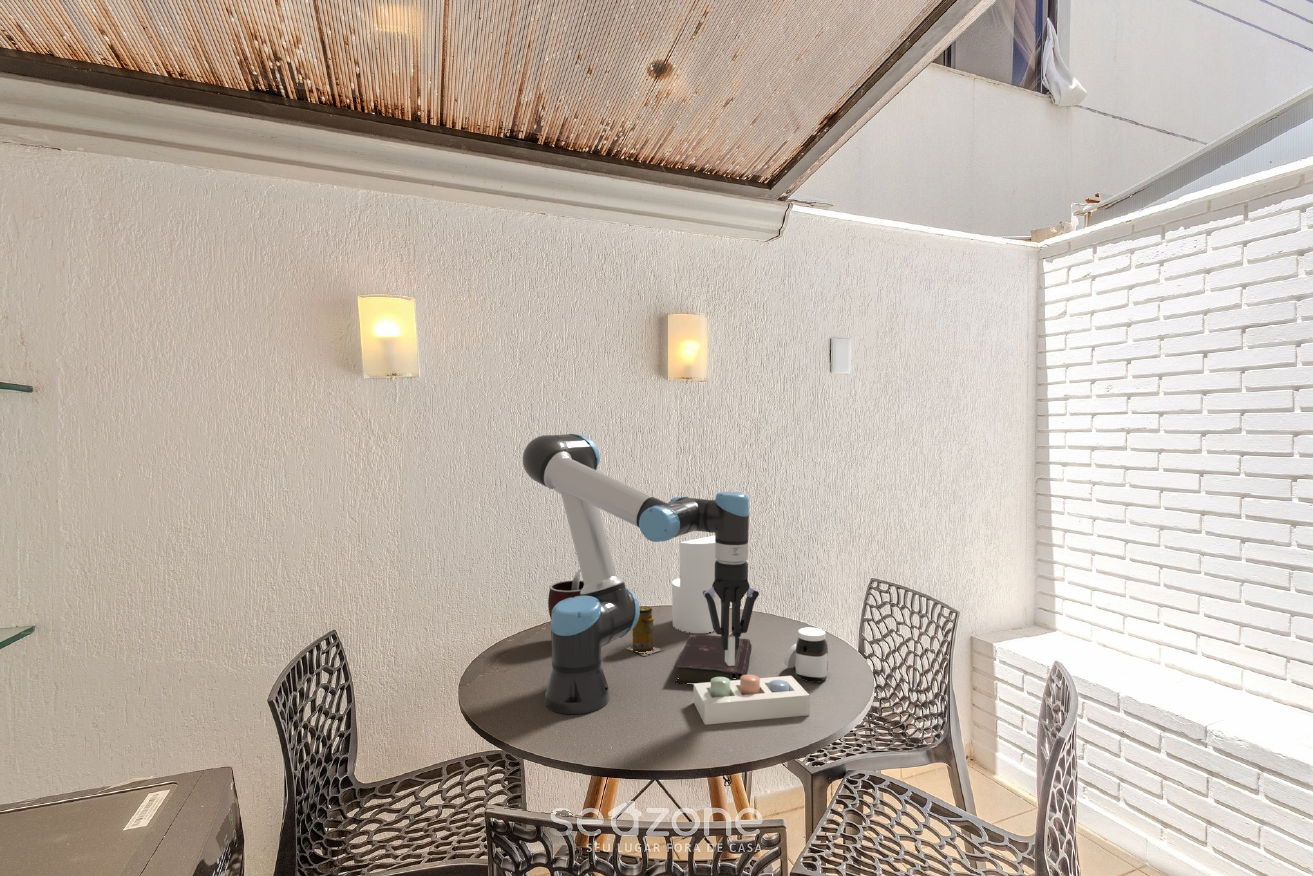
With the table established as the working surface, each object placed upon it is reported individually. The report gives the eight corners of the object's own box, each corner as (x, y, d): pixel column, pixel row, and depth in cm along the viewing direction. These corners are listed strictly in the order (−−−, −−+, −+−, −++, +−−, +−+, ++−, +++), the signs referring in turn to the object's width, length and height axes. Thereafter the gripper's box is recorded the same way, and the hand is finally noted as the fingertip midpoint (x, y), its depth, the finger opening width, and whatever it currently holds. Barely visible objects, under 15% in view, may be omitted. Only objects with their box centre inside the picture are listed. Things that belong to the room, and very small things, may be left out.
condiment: (645, 643, 188) (644, 603, 188) (663, 651, 182) (663, 609, 181) (625, 649, 184) (625, 608, 183) (643, 657, 177) (643, 614, 177)
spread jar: (823, 686, 156) (823, 639, 156) (778, 679, 161) (778, 633, 160) (831, 669, 167) (831, 625, 166) (789, 662, 171) (788, 620, 171)
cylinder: (736, 624, 205) (735, 538, 204) (700, 637, 193) (699, 546, 192) (697, 613, 217) (696, 532, 217) (661, 624, 205) (660, 539, 205)
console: (704, 724, 137) (704, 704, 137) (693, 702, 148) (693, 683, 148) (809, 715, 141) (809, 695, 140) (791, 694, 151) (791, 675, 151)
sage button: (713, 700, 140) (713, 685, 140) (708, 692, 145) (708, 677, 145) (732, 699, 141) (732, 683, 141) (727, 690, 145) (727, 676, 145)
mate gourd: (587, 651, 182) (586, 582, 181) (542, 649, 184) (540, 581, 184) (602, 633, 197) (601, 570, 197) (559, 631, 200) (558, 569, 199)
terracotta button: (743, 698, 142) (743, 683, 141) (738, 689, 146) (737, 675, 146) (762, 696, 142) (762, 681, 142) (756, 688, 147) (756, 673, 146)
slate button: (773, 703, 143) (773, 688, 143) (767, 695, 147) (766, 680, 147) (792, 701, 143) (791, 686, 143) (785, 693, 148) (784, 679, 148)
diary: (751, 655, 179) (751, 638, 179) (745, 692, 155) (745, 672, 155) (686, 650, 183) (686, 633, 183) (671, 685, 159) (671, 665, 159)
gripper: (708, 565, 138) (706, 671, 139) (764, 563, 141) (762, 668, 141) (699, 557, 145) (697, 658, 146) (753, 556, 148) (751, 655, 149)
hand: (729, 663), depth 144 cm, fingers closed
